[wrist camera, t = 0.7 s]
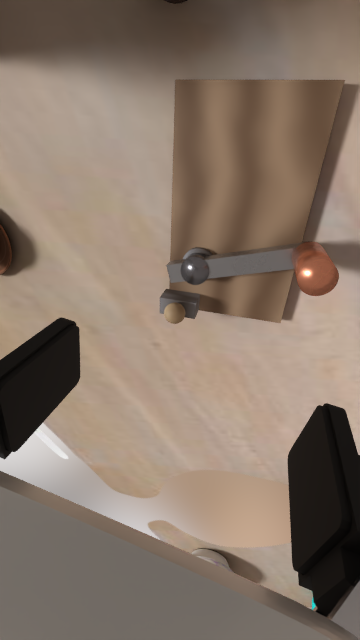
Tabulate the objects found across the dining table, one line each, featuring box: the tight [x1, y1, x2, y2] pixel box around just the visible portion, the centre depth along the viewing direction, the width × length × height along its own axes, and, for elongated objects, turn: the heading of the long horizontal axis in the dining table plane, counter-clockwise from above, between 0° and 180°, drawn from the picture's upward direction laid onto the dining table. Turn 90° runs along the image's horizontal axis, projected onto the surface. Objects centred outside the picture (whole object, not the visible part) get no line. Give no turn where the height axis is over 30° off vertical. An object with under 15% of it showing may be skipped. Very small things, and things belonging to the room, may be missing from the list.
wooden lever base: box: [160, 80, 345, 324], centre depth 32 cm, size 16×26×7 cm, turn 178°
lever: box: [167, 242, 339, 296], centre depth 32 cm, size 18×4×8 cm, turn 103°
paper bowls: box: [192, 549, 234, 573], centre depth 79 cm, size 15×15×8 cm
